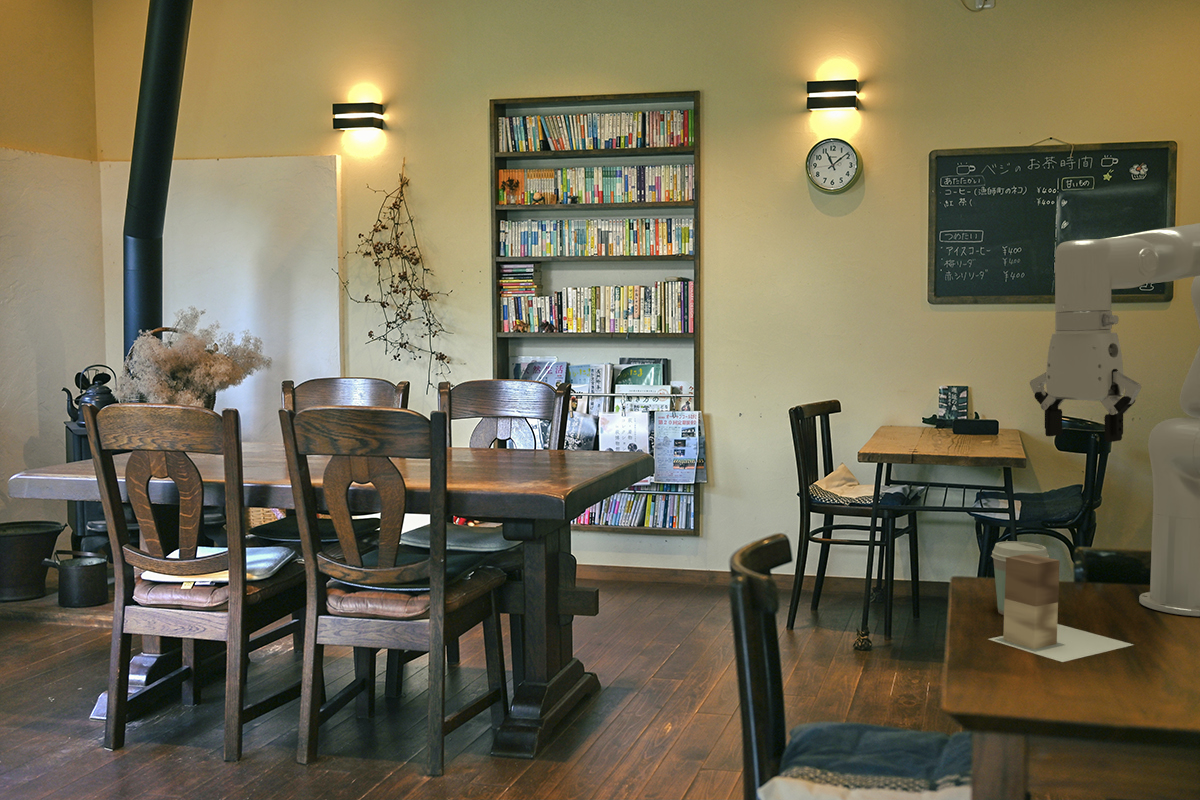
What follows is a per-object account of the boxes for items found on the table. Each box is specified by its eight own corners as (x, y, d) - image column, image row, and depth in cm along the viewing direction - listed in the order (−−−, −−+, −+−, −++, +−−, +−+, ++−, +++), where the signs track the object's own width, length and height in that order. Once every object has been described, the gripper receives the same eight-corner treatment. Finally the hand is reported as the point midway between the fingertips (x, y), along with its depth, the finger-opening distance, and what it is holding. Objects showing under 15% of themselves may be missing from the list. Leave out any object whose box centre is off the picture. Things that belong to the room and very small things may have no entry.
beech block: (1026, 635, 146) (1027, 594, 146) (1056, 644, 142) (1057, 602, 142) (1003, 640, 144) (1004, 598, 144) (1033, 649, 140) (1035, 606, 139)
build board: (1058, 631, 152) (1058, 623, 152) (1133, 653, 142) (1134, 644, 142) (987, 647, 144) (987, 638, 144) (1062, 670, 134) (1062, 661, 134)
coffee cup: (1054, 630, 153) (1056, 552, 153) (994, 626, 155) (997, 550, 155) (1041, 615, 162) (1043, 541, 161) (985, 612, 164) (987, 539, 163)
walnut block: (1027, 594, 146) (1028, 553, 146) (1058, 602, 142) (1059, 560, 141) (1004, 598, 144) (1006, 557, 143) (1035, 606, 139) (1036, 564, 139)
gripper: (1154, 322, 143) (1153, 441, 145) (1047, 323, 158) (1047, 431, 160) (1123, 323, 139) (1122, 445, 141) (1016, 325, 154) (1016, 435, 156)
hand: (1082, 438), depth 150 cm, fingers open, 9 cm apart
